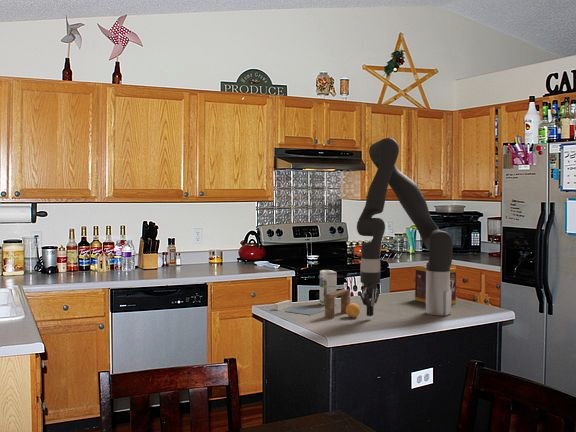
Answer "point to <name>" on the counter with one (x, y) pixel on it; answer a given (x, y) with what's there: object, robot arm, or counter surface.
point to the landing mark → (305, 310)
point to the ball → (352, 310)
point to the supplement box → (421, 284)
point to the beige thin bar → (283, 305)
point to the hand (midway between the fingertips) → (370, 315)
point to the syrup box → (327, 284)
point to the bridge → (330, 302)
